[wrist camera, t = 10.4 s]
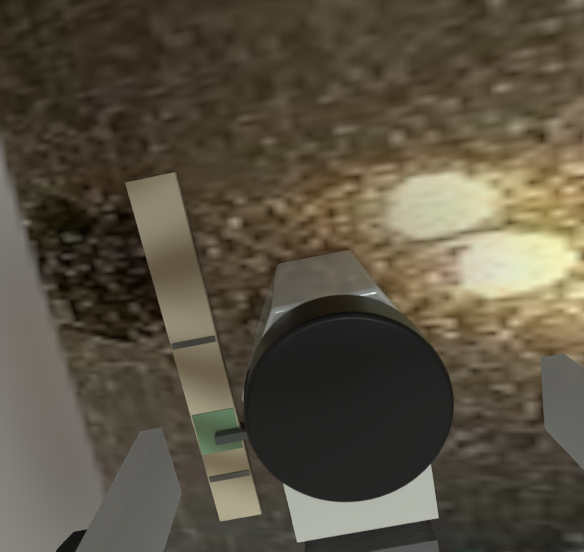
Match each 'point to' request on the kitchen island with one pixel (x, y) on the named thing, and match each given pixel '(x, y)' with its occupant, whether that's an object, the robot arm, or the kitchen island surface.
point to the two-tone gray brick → (381, 540)
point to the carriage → (353, 505)
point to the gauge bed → (193, 339)
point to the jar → (342, 384)
